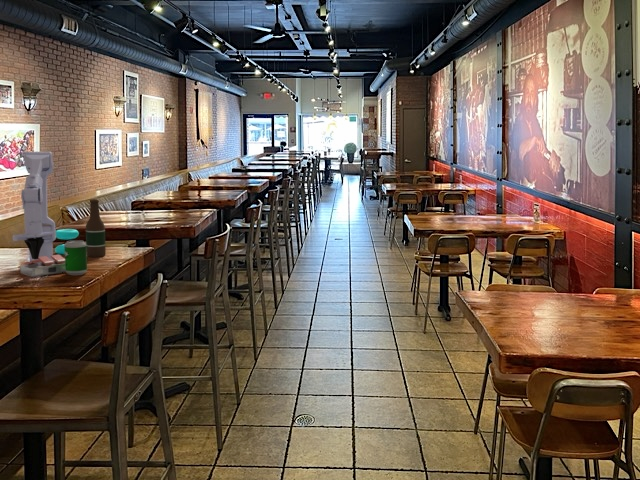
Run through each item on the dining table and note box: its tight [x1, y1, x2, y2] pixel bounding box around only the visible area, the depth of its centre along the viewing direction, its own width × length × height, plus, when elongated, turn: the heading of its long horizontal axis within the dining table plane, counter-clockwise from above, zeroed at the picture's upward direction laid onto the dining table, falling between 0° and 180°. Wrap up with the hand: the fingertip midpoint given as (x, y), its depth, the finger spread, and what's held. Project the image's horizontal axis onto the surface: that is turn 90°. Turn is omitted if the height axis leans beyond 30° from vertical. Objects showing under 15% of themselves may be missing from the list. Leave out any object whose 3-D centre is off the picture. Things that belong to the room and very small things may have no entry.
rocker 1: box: [24, 260, 41, 265], centre depth 238 cm, size 6×3×1 cm, turn 48°
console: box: [19, 260, 66, 278], centre depth 242 cm, size 9×15×4 cm, turn 139°
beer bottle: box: [85, 198, 107, 258], centre depth 277 cm, size 8×8×24 cm
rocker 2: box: [38, 256, 54, 265], centre depth 242 cm, size 6×3×1 cm, turn 50°
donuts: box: [54, 228, 80, 255], centre depth 284 cm, size 10×10×10 cm
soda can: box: [64, 239, 88, 276], centre depth 240 cm, size 8×8×12 cm
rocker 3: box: [51, 254, 65, 263], centre depth 246 cm, size 6×3×1 cm, turn 50°
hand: (35, 258), depth 237 cm, fingers closed
